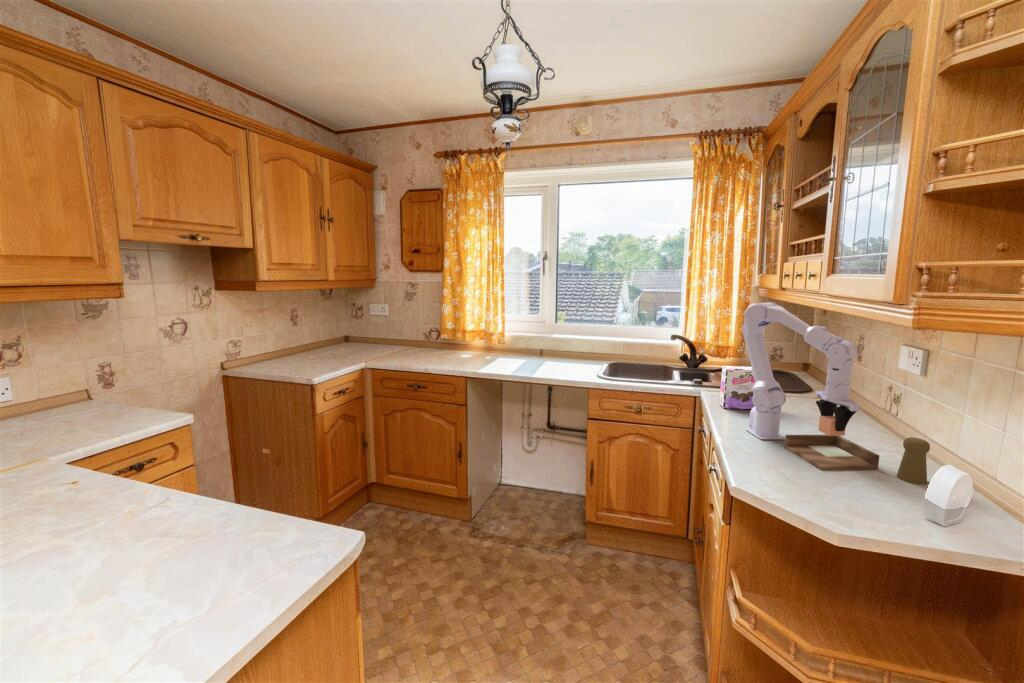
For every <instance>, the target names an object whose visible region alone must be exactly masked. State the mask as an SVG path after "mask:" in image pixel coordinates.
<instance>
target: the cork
mask: <svg viewBox="0 0 1024 683" xmlns="http://www.w3.org/2000/svg"><path fill="white" fill-rule="evenodd" d="M902 446H903V449H904V452H903V455H902V458H901V461H900V464H899V468H898V470H897V473H896V477H897V478H898V479H899V480H901V481H903V482H906V483H909V484H914V485H927V484H928V470H927V467H928V466H927V453H929V452H930V449H931V445H930V443H929V441H927V440H925V439H922V438H918V437H912V436H911V437H906V438H905V439H904V440H903V443H902Z"/></svg>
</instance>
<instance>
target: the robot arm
mask: <svg viewBox="0 0 1024 683" xmlns="http://www.w3.org/2000/svg"><path fill="white" fill-rule="evenodd" d="M743 317H744V318H743V325H742V330H741V331H742V335H743V339H744V343H745V347H746V351H747V355H748V358H749V361H750V365H751V366H750V367H752V370H753V374H754V378H755V381H756V383H755V385H754V387H753V389H752V390H753V399H752V400H753V404H754V406H755V407H753V408H752V409H751V410H749V411H750V412H749V421H748V427H747V428H745V430H746V431H747V432H749V433H751V434H752V435H753V436H755V437H757V438H758V439H759V440H765V441H766V440H785V436H783V435H780V425H781V414H782V406H784V405H785V403H786V401H787V396H786V394H785V392H784V391H783V389H782V387H781V385H780V383H779V382H778V381H777V380H776V379H775V378H774V374H773V370H772V366H771V362H770V359H769V356H768V352H767V348H766V344H765V341H764V337H763V332H764V330H766V328H767V326H768V325H769V324H771V323H780V324H782V325H784V326H785V327H788V328H789V329H791V330H793V331H795V332H796V333H798V334H800V335H802V336H803V341H804V342H805V343H807V344H808V345H810V346H812V347H813V348H815V349H817V350H818V351H820V352H822V353H823V354H825V357H826V359H827V360H828V361H827V362H828V364H827V371H826V380H825V382H826V383H825V390H824V391H823V390H815V396H814V397H815V398H817V399H819V400H816V401H815V404H816V405H817V407H818V409H819V413H820V416H835V429H836V431H844V430H845V431H846V429H847V428H846V427H847V425H848V423H849V421H850V420H851V419H852V418H853V416H854V415H855V414H856V413H857V412H860V409H861V408H860V406H861V404H859V403H857V402H855V401H854V400H853V399H850V391H851V381H852V373H853V363H854V360H853V359H854V358H856V356H857V355H858V351H859V350H858V347H857V346H856V344H854V342H853V341H851V340H847V339H844V340H842V339H843V337H841V336H840V335H838V336H837V335H835V334H833V333H831V332H829V331H828V328H827V327H826V326H824V325H821V326H819V325H813V326H811V325H809V324H808V323H806V322H805V321H804V320H802V319H801V318H799V317H798V316H796V315H794V314H793V313H791V312H790V311H788V310H787V309H786V308H785V307H783V306H781V305H778V304H777V303H775V302H773V301H768V302H761V303H759V302H758V303H757V302H754V303H751V304H750V305H748V306H747V308H746V309H745V310H744V312H743Z"/></svg>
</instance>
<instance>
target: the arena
mask: <svg viewBox="0 0 1024 683" xmlns="http://www.w3.org/2000/svg"><path fill="white" fill-rule="evenodd" d="M784 438H785V439H784V448H785V449H786V450H788V451H790V452H791V453H793V454H795V455H796V456H797V457H799V458H801V460H803V461H806V462H807V463H809V464H810V465H812V466H813V467H815V468H816V469H818V470H819V471H822V470H824V471H826V470H827V471H828V470H829V471H832V470H833V471H834V470H836V471H838V470H841V471H842V470H843V471H844V470H846V471H847V470H878V469H879V462H880V455H879V454H878V453H876V452H873V451H871V450H870V449H867V448H866V447H863V446H861V445H859V444H857V443H856V442H854V441H851V440H849V439H848V438H845V437H844V436H829V435H827V434H785V436H784Z"/></svg>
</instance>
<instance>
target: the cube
mask: <svg viewBox="0 0 1024 683" xmlns="http://www.w3.org/2000/svg"><path fill="white" fill-rule="evenodd" d="M818 431H819V432H821V433H823V434H824V435H829V436H841V437H844V436H846V429H845V430H844V431H836V429H835V415H833V416H821V415H819V424H818Z"/></svg>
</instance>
